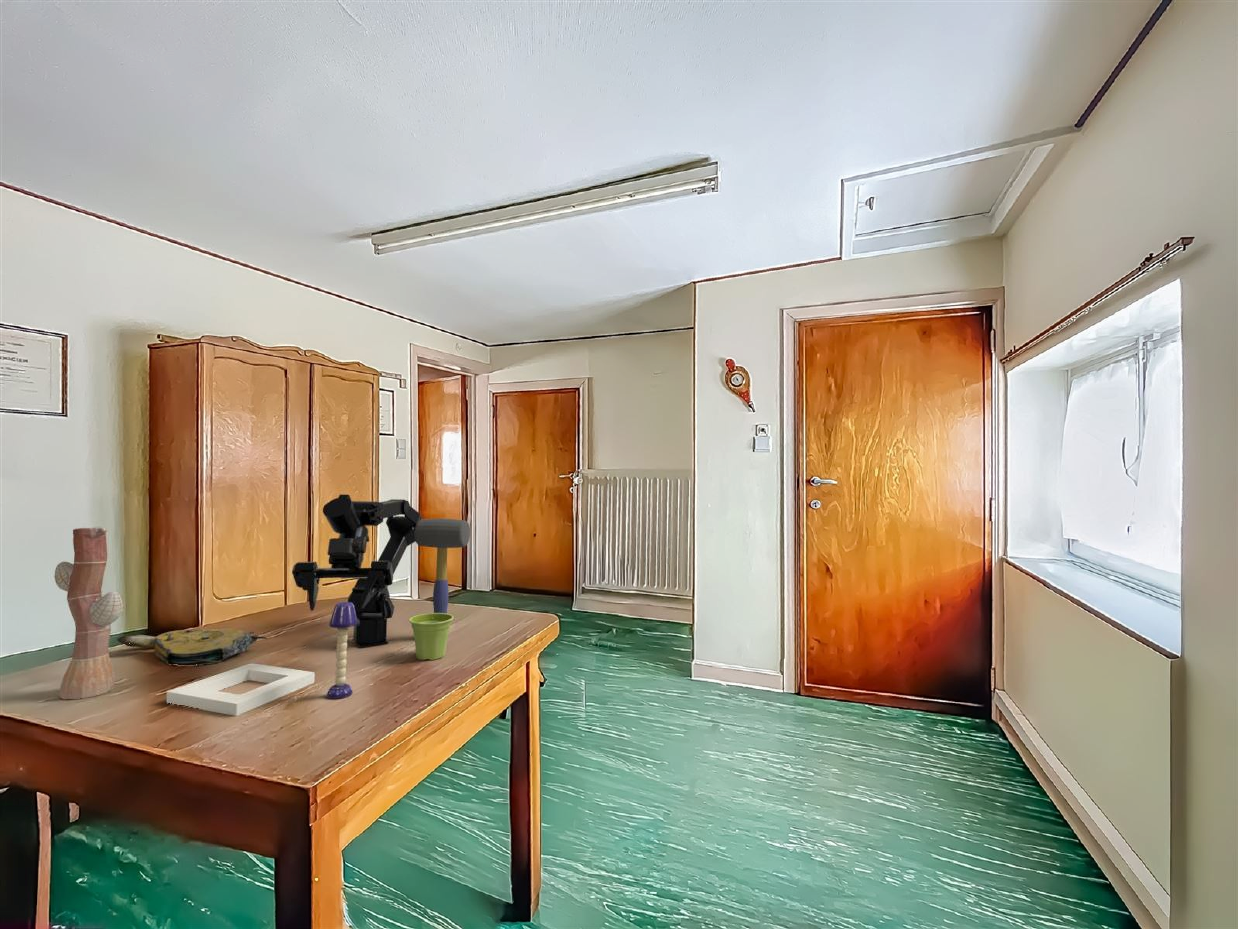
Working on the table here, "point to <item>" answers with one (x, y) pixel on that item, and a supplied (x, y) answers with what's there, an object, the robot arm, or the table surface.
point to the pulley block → (194, 645)
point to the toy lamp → (342, 647)
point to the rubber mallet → (442, 550)
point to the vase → (88, 615)
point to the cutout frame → (211, 699)
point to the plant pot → (431, 634)
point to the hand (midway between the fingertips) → (336, 608)
